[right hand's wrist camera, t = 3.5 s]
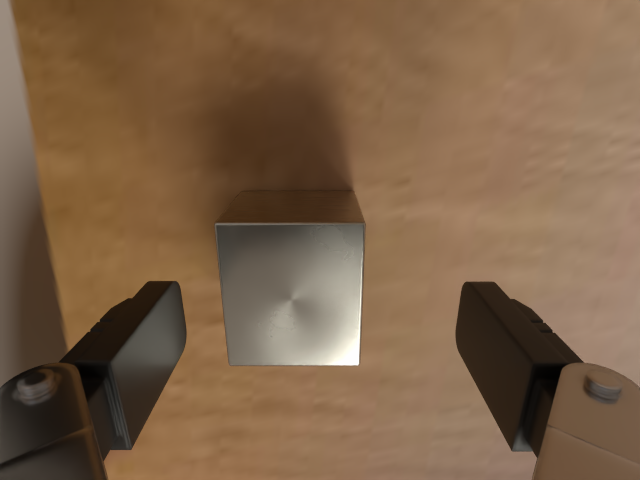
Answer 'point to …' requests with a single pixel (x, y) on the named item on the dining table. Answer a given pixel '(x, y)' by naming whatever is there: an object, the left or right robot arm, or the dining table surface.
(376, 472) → the dining table surface
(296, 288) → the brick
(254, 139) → the dining table surface
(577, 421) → the right robot arm
